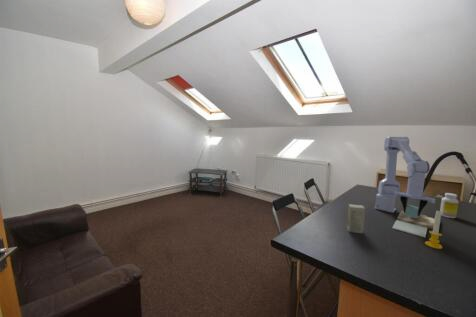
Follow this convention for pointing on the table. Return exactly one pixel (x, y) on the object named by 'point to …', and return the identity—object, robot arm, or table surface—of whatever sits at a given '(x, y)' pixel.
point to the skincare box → (355, 218)
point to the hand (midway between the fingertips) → (411, 213)
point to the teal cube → (412, 211)
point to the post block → (417, 220)
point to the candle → (435, 233)
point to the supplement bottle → (449, 205)
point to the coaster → (410, 228)
